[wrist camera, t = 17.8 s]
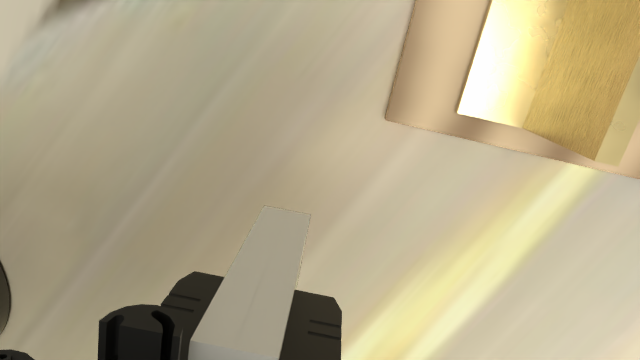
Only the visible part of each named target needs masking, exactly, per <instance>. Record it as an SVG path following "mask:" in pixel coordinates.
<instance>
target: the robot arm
mask: <svg viewBox="0 0 640 360" xmlns="http://www.w3.org/2000/svg"><path fill="white" fill-rule="evenodd" d="M310 216H311V215H310V214H305V213H300V212H295V211H290V210H285V209H280V208H275V207H270V206H264V207H263V209H262V210H261V212H260V214H259V216H258V218H257V219H256V221H255V223H254V225H253V227H252V229H251V230H250V232H249V234H248V236H247V238H246V239H245V241H244V243H243V245H242V247H241V249H240V250H239V252H238V254H237V256H236V258H235V259H234V261H233V263H232V265H231V267H230V269H229V270H228V272H227V274H226V276H225V277H220V276H215V275H210V274H205V273H200V272H193V273H191V274H189V275H187V276H186V277H184V278H182V279H180V280H179V281H178V282H177V283H176V285H175V286H174V287H173V289H172V290H171V291H170V293H169V296H167V297H166V298H165V299H164V301H163V302H162V303H161V306H158V305H145V304H140V305H133V306H126V307H123V308H121V309H118V310H116V311H113V312H111V313H109V314H108V315H107V316H105V317H104V318H103V319H101V320H100V321H99V341H98V360H341V325H342V311H341V309H340V307H339V306H338V304H337V302H336V300H335V299H334V298H333V297H328V296H323V295H318V294H313V293H308V292H303V291H298V290H296V288H297V283H298V278H299V273H300V268H301V263H302V258H303V252H304V247H305V242H306V237H307V232H308V227H309V221H310ZM9 304H10V301H9V291H8V286H7V282H6V278H5V276H4V273H3V271H2V268H1V266H0V334H1V332H2V331H3V329H4V327H5V325H6V322H7V319H8V314H9ZM0 360H34V359H33V358H32V357H30V356H29V355H28V354H27V353H24V352H19V351H15V350H0Z"/></svg>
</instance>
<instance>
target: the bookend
mask: <svg viewBox="0 0 640 360" xmlns="http://www.w3.org/2000/svg"><path fill="white" fill-rule="evenodd" d="M455 112H456V113H459V114H463V115H467V116H472V117H476V118H480V119H485V120H489V121H493V122H498V123H502V124H506V125H511V126H515V127H520V128H523V129H525V130H527V131H530V132H532V133H534V134H536V135H538V136H540V137H543V138H545V139H547V140H549V141H551V142H554V143H556V144H558V145H560V146H562V147H564V148H567V149H569V150H571V151H573V152H575V153H578V154H580V155H582V156H584V157H586V158H589V159H591V160H593V161H596V162H600V163H604V164H609V165H613V166H617V167H618V166H619V164H620V162H621V160H622V158H623V155H624V153H625V151H626V149H627V146H628V144H629V142H630V140H631V137H632V135H633V133H634V131H635V128H636V126H637V124H638V122H639V120H640V0H490V2H489V6H488V9H487V12H486V15H485V18H484V21H483V25H482V28H481V31H480V34H479V37H478V41H477V44H476V47H475V50H474V53H473V57H472V60H471V63H470V66H469V69H468V73H467V76H466V79H465V82H464V85H463V89H462V92H461V95H460V98H459V101H458V105H457V108H456V111H455Z"/></svg>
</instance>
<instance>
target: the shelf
mask: <svg viewBox="0 0 640 360" xmlns="http://www.w3.org/2000/svg"><path fill="white" fill-rule="evenodd" d="M489 2H490V0H416V2H415V5H414V9H413V13H412V17H411V21H410V24H409V28H408V32H407V36H406V40H405V43H404V47H403V51H402V55H401V58H400V62H399V66H398V70H397V74H396V77H395V81H394V85H393V89H392V93H391V96H390V100H389V104H388V108H387V112H386V115H385V119H386V120H387V121H391V122H395V123H400V124H404V125H408V126H413V127H417V128H421V129H426V130H430V131H434V132H438V133H443V134H447V135H451V136H456V137H460V138H464V139H469V140H473V141H477V142H482V143H486V144H490V145H495V146H499V147H503V148H508V149H512V150H516V151H520V152H525V153H529V154H533V155H538V156H542V157H546V158H551V159H555V160H559V161H564V162H568V163H572V164H577V165H581V166H585V167H590V168H594V169H598V170H602V171H607V172H611V173H615V174H620V175H624V176H628V177H633V178H637V179H640V120H639V122H638V124H637V126H636V128H635V131H634V133H633V135H632V137H631V140H630V142H629V144H628V146H627V149H626V151H625V153H624V155H623V158H622V160H621V162H620V164H619V166H618V167H617V166H613V165H609V164H604V163H600V162H596V161H593V160H591V159H589V158H586V157H584V156H582V155H580V154H578V153H575V152H573V151H571V150H569V149H567V148H564V147H562V146H560V145H558V144H556V143H554V142H551V141H549V140H547V139H545V138H543V137H540V136H538V135H536V134H534V133H532V132H530V131H527V130H525V129H523V128H520V127H515V126H511V125H506V124H502V123H498V122H493V121H489V120H485V119H480V118H476V117H472V116H467V115H463V114H459V113H456V112H455V111H456V108H457V105H458V101H459V98H460V95H461V92H462V89H463V85H464V82H465V79H466V76H467V73H468V69H469V66H470V63H471V60H472V57H473V53H474V50H475V47H476V44H477V41H478V37H479V34H480V31H481V28H482V25H483V21H484V18H485V15H486V12H487V9H488V6H489Z"/></svg>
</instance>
